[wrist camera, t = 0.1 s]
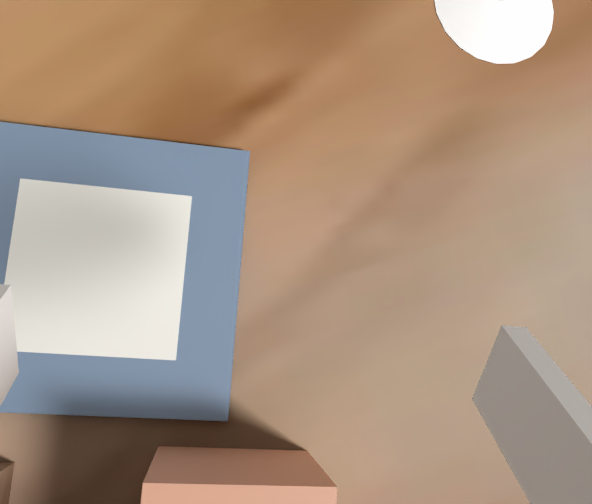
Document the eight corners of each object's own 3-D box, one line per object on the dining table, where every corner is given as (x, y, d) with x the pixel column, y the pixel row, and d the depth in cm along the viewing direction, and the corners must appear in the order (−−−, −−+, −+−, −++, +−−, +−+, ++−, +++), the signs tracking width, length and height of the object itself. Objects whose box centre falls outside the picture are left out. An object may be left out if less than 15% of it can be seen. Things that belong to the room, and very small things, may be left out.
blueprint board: (227, 419, 29) (227, 421, 28) (-75, 407, 26) (-82, 409, 26) (249, 154, 31) (250, 151, 30) (-27, 122, 29) (-32, 117, 28)
